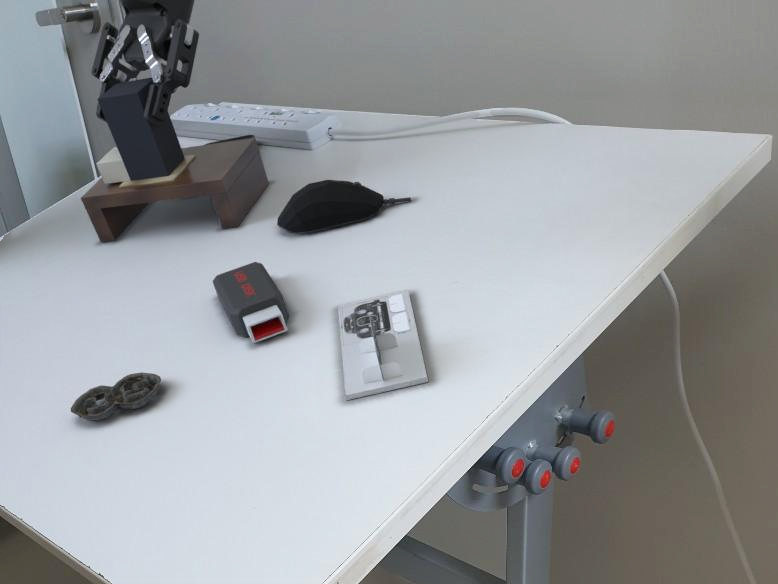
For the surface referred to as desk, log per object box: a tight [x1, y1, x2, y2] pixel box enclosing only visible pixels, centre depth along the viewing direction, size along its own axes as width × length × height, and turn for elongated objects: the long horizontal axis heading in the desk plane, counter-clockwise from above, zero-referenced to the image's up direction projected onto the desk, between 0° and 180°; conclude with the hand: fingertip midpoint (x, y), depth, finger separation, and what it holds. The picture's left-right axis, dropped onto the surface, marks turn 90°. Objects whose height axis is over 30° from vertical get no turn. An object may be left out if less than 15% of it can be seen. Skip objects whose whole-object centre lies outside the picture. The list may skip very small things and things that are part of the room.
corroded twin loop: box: [70, 371, 162, 421], centre depth 75 cm, size 5×8×1 cm, turn 110°
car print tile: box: [337, 289, 429, 401], centre depth 73 cm, size 15×7×4 cm, turn 6°
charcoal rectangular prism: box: [95, 77, 185, 184], centre depth 99 cm, size 8×5×9 cm, turn 79°
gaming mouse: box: [276, 179, 412, 234], centre depth 94 cm, size 6×15×4 cm, turn 93°
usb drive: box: [212, 261, 290, 344], centre depth 82 cm, size 5×12×3 cm, turn 21°
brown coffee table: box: [80, 137, 270, 243], centre depth 104 cm, size 18×12×6 cm, turn 79°
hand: (128, 122), depth 97 cm, fingers open, 8 cm apart
